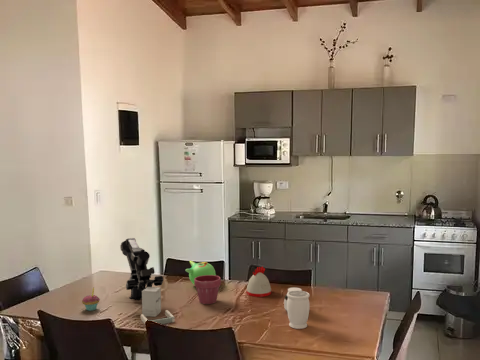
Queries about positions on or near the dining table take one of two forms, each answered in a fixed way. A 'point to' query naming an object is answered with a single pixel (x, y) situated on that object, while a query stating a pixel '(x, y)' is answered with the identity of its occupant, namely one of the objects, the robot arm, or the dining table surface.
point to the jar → (298, 309)
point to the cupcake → (90, 301)
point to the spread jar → (287, 297)
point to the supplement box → (151, 301)
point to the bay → (163, 320)
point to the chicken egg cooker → (259, 284)
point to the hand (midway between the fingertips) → (148, 297)
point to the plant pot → (207, 288)
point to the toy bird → (200, 270)
